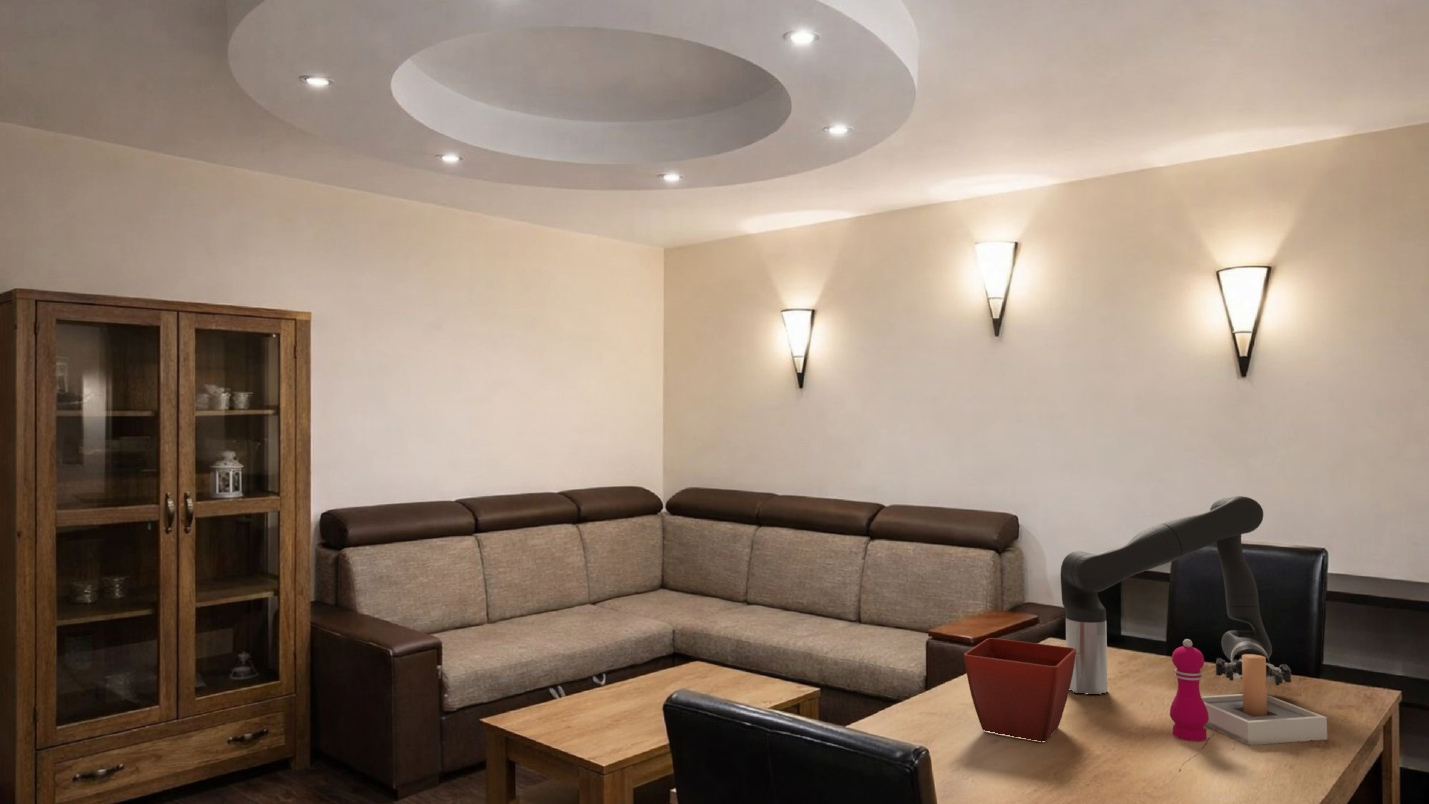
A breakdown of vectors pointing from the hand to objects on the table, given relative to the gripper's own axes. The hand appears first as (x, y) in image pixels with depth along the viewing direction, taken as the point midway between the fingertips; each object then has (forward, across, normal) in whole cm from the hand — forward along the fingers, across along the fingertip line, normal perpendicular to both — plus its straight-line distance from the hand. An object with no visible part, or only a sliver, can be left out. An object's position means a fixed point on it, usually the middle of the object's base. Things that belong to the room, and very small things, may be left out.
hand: (1254, 678), depth 201 cm
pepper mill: (+12, -12, +11) cm, 20 cm away
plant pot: (+23, -44, +11) cm, 51 cm away
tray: (0, 0, +10) cm, 11 cm away
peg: (0, 0, +9) cm, 9 cm away
